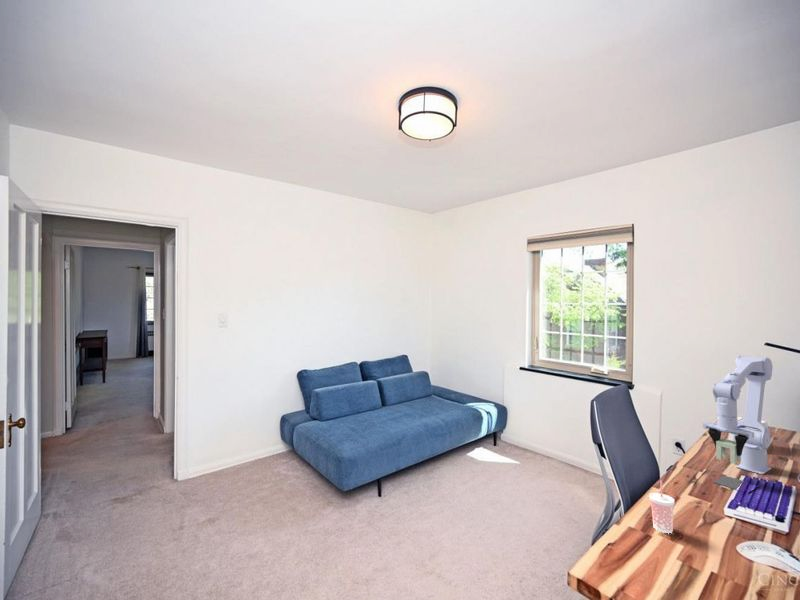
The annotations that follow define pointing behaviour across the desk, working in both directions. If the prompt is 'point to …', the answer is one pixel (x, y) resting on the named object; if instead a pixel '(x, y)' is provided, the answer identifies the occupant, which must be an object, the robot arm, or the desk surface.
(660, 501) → the beverage cup
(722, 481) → the felt pad
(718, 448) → the slotted sage cube
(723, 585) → the desk surface
